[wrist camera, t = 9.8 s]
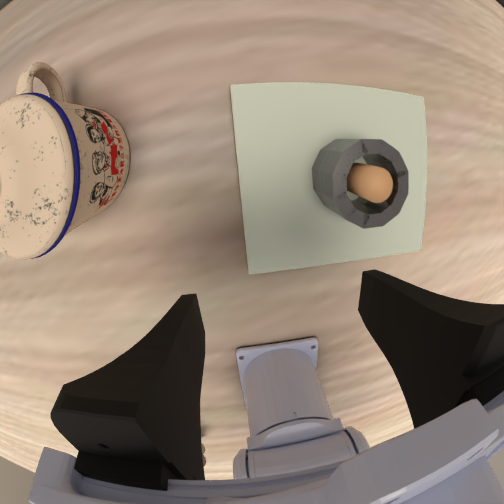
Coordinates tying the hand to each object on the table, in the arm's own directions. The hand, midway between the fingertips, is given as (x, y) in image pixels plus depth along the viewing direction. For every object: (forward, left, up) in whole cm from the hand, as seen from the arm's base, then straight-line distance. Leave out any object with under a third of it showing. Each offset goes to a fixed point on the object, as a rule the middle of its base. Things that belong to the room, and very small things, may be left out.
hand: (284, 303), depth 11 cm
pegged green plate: (+4, -7, -10) cm, 13 cm away
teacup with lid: (+9, +13, -11) cm, 19 cm away
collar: (+4, -7, -9) cm, 12 cm away
